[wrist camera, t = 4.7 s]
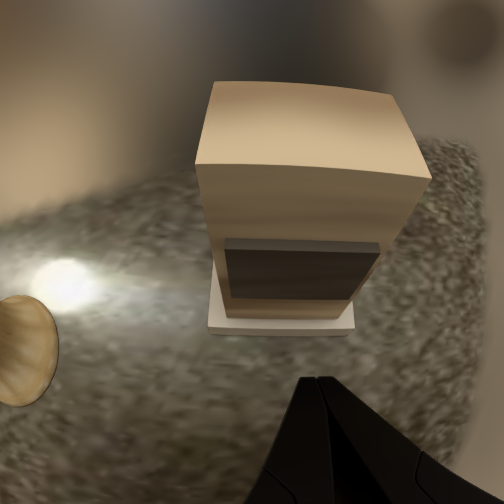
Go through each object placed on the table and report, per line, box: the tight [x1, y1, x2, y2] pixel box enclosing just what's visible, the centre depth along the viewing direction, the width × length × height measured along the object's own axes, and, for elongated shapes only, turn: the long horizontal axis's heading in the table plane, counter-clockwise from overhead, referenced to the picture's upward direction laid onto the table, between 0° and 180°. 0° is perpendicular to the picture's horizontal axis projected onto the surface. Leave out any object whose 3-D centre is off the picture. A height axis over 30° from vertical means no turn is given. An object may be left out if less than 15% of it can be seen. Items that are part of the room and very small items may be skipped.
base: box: [208, 261, 355, 336], centre depth 18 cm, size 10×8×6 cm
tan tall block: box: [195, 81, 432, 319], centre depth 13 cm, size 4×6×11 cm
